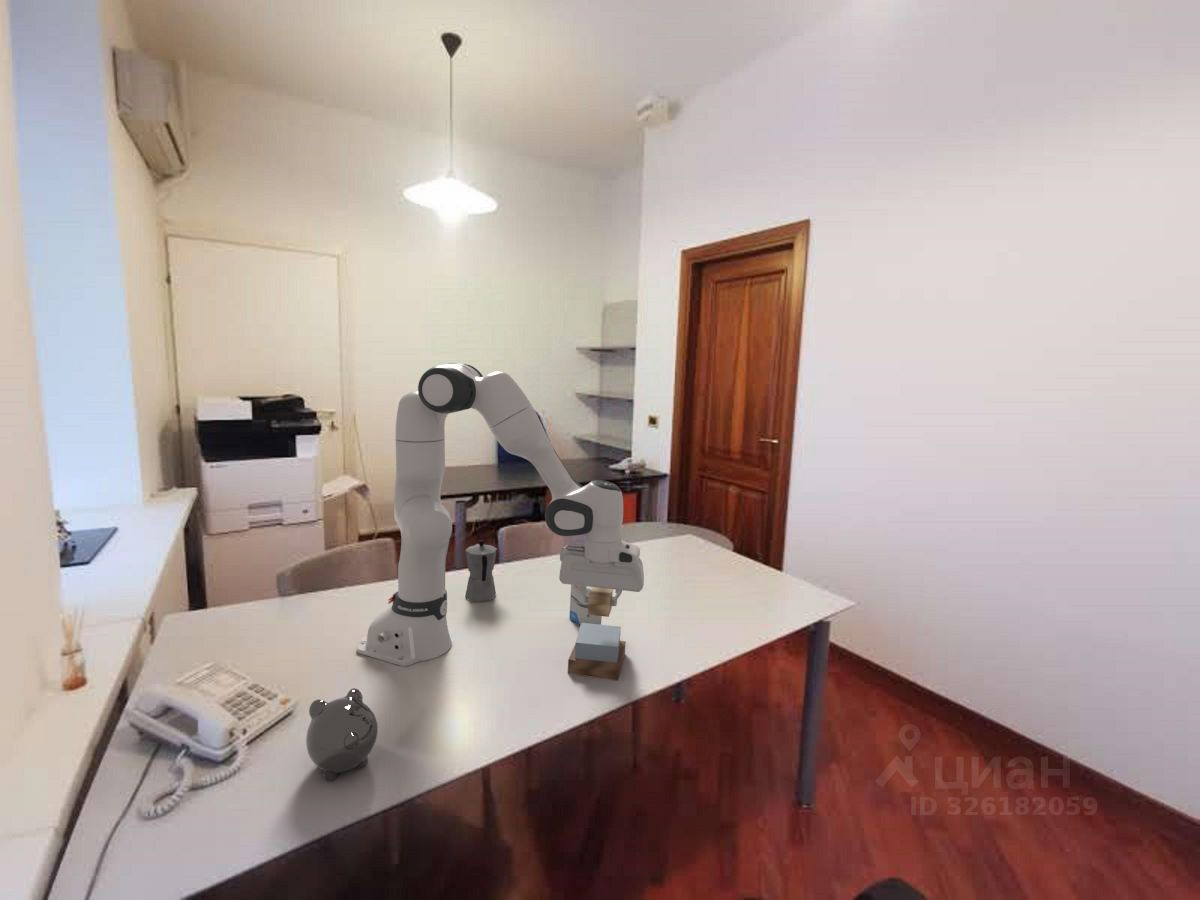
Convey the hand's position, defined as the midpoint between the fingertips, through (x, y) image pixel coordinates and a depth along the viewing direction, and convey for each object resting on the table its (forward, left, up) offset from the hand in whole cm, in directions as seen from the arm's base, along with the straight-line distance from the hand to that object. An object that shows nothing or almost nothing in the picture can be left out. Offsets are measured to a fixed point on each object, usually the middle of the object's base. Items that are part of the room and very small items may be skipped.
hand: (600, 603), depth 131 cm
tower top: (0, 0, -12) cm, 12 cm away
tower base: (0, 0, -16) cm, 16 cm away
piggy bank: (-38, -44, -16) cm, 60 cm away
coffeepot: (-41, +27, -16) cm, 52 cm away
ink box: (-7, +20, -16) cm, 26 cm away
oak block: (0, 0, -2) cm, 2 cm away
